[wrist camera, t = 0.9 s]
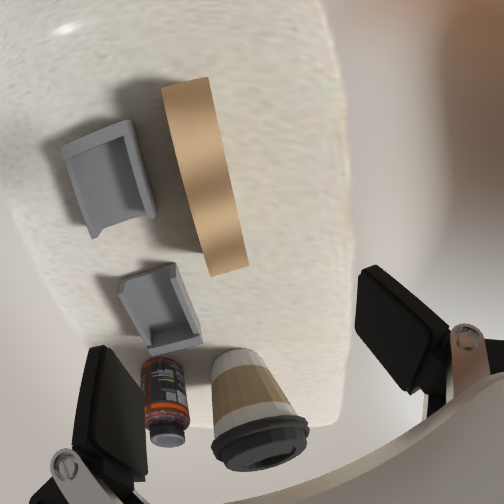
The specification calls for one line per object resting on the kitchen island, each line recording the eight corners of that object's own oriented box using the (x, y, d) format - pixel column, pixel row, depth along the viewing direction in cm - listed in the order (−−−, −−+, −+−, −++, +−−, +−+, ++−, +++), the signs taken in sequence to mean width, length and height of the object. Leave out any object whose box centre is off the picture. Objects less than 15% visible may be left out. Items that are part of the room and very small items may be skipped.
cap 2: (199, 323, 31) (203, 343, 28) (152, 336, 30) (151, 356, 27) (175, 262, 27) (176, 279, 24) (122, 278, 26) (116, 296, 23)
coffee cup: (211, 396, 38) (232, 480, 25) (183, 352, 33) (198, 457, 19) (280, 373, 39) (317, 453, 26) (267, 325, 34) (314, 422, 21)
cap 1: (73, 145, 19) (59, 147, 16) (133, 120, 20) (126, 119, 17) (100, 227, 23) (90, 241, 20) (157, 208, 24) (154, 219, 21)
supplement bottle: (147, 384, 34) (150, 452, 24) (135, 358, 31) (133, 432, 21) (187, 380, 35) (197, 448, 25) (179, 353, 32) (187, 428, 23)
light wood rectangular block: (164, 96, 20) (160, 88, 16) (202, 87, 21) (207, 76, 16) (204, 252, 28) (210, 277, 23) (237, 243, 28) (249, 265, 24)
